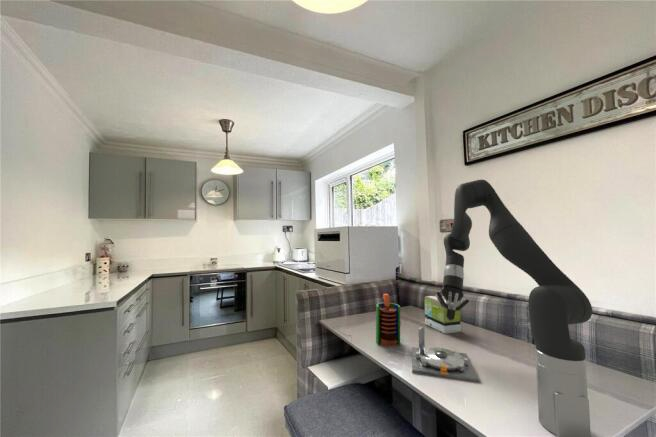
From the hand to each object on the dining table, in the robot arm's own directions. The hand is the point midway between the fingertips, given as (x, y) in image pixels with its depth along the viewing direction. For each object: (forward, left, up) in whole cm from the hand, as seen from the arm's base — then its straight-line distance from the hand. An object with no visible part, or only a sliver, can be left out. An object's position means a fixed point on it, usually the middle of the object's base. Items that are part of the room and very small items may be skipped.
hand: (449, 319), depth 106 cm
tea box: (+33, -1, -13) cm, 36 cm away
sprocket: (-10, +4, -12) cm, 16 cm away
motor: (+5, +24, -13) cm, 28 cm away
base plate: (-10, +4, -13) cm, 17 cm away
